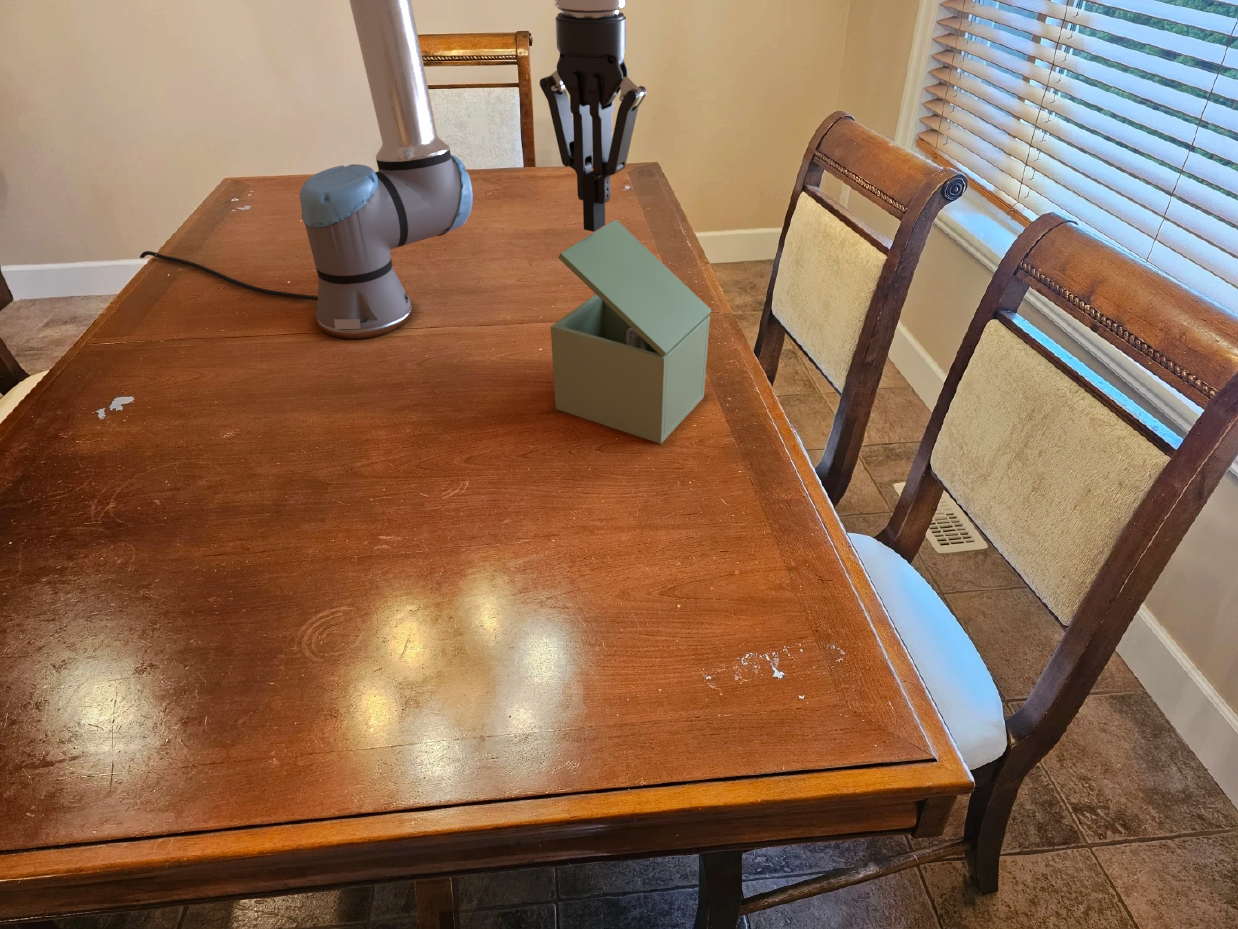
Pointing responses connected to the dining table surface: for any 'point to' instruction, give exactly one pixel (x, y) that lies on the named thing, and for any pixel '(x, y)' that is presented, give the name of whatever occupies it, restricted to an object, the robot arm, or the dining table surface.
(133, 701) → the dining table surface
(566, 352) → the chest
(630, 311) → the lid
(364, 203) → the robot arm
